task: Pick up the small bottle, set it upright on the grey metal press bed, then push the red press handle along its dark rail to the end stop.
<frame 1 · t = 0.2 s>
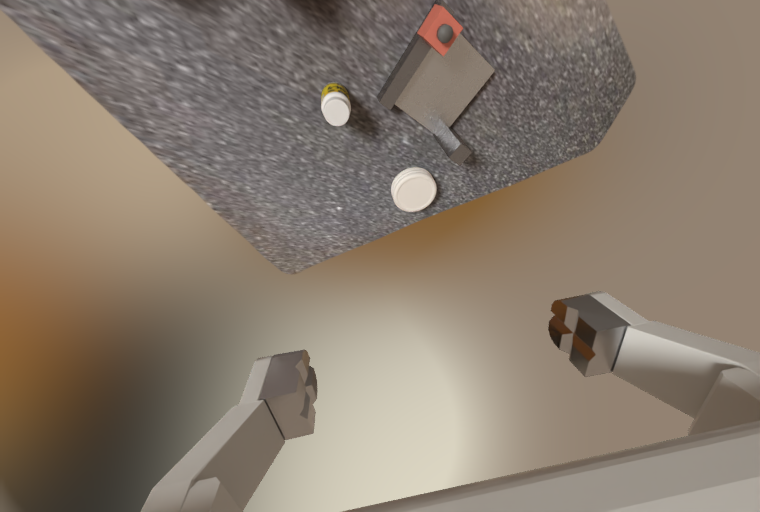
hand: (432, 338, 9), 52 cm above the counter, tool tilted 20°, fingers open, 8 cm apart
press handle: (440, 31, 41), point 6 cm above the counter, slide at 0.0 cm
supplement bottle: (334, 96, 51), on the counter
press bed: (441, 84, 52), on the counter
coaster: (411, 185, 66), on the counter
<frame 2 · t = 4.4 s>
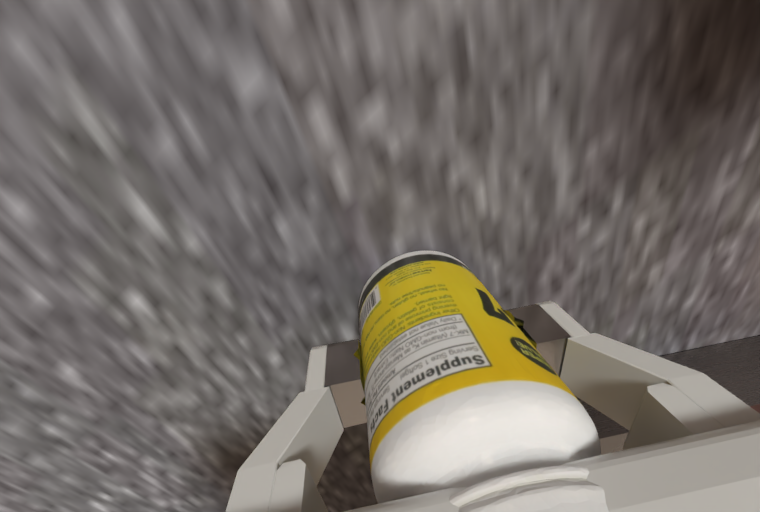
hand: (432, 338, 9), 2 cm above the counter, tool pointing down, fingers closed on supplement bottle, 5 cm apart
supplement bottle: (416, 298, 11), on the counter, touching gripper
press bed: (618, 453, 19), on the counter
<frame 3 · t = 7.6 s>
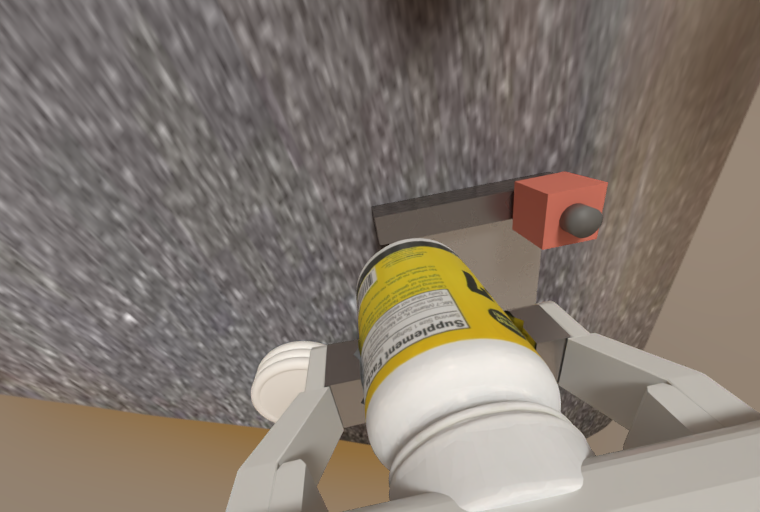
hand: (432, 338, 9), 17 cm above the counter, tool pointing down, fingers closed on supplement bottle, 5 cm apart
press handle: (559, 211, 21), point 6 cm above the counter, slide at 0.0 cm
supplement bottle: (410, 283, 12), point 14 cm above the counter, touching gripper
press bed: (463, 273, 29), on the counter
coaster: (304, 370, 33), on the counter
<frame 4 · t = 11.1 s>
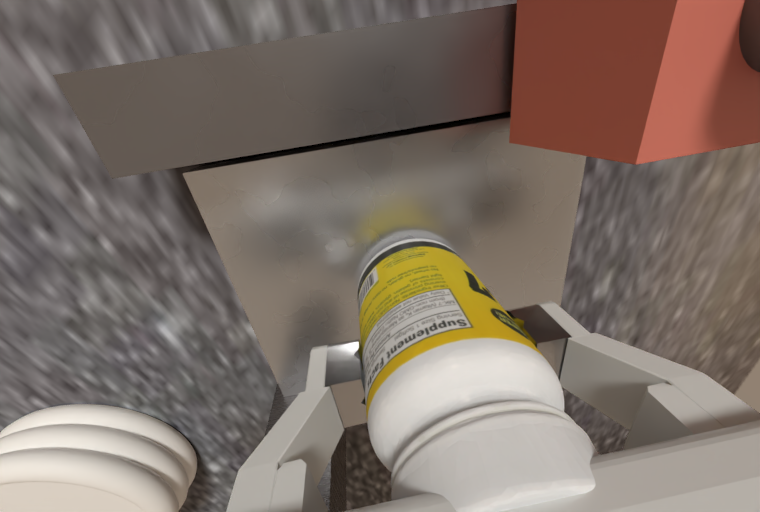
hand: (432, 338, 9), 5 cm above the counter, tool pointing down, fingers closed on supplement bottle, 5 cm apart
press handle: (699, 18, 5), point 6 cm above the counter, slide at 0.0 cm
supplement bottle: (411, 283, 12), point 1 cm above the counter, touching gripper, press bed
press bed: (405, 270, 14), on the counter
coaster: (112, 451, 17), on the counter
when the fingers open (5 cm above the counter, at t = 11.1 s): supplement bottle stays where it is, resting on press bed.
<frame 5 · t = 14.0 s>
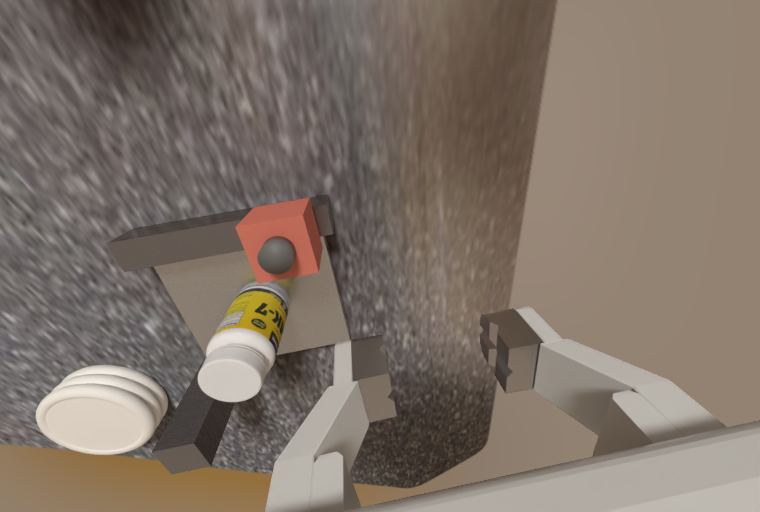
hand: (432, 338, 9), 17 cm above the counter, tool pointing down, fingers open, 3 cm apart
press handle: (283, 242, 19), point 6 cm above the counter, slide at 0.0 cm
supplement bottle: (262, 305, 26), point 1 cm above the counter, touching press bed
press bed: (266, 297, 28), on the counter
coaster: (120, 394, 31), on the counter
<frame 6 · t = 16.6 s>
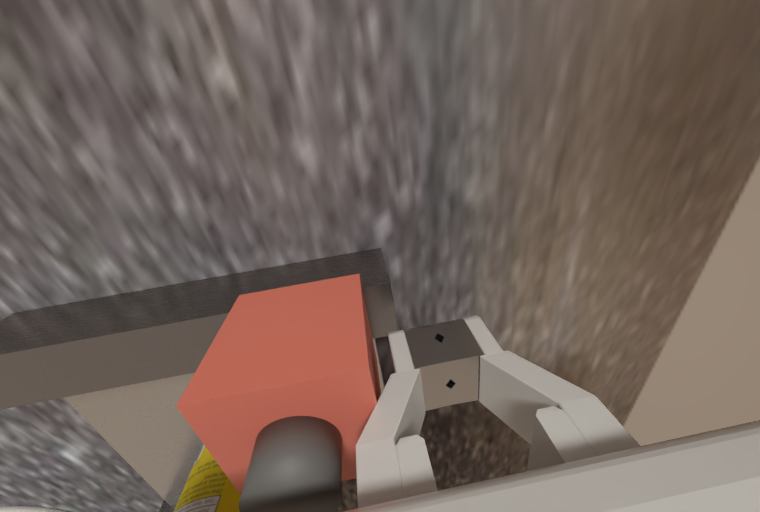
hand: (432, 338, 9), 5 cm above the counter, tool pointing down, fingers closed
press handle: (306, 392, 8), point 6 cm above the counter, slide at 0.0 cm, touching gripper
supplement bottle: (259, 428, 15), point 1 cm above the counter, touching press bed
press bed: (265, 406, 17), on the counter
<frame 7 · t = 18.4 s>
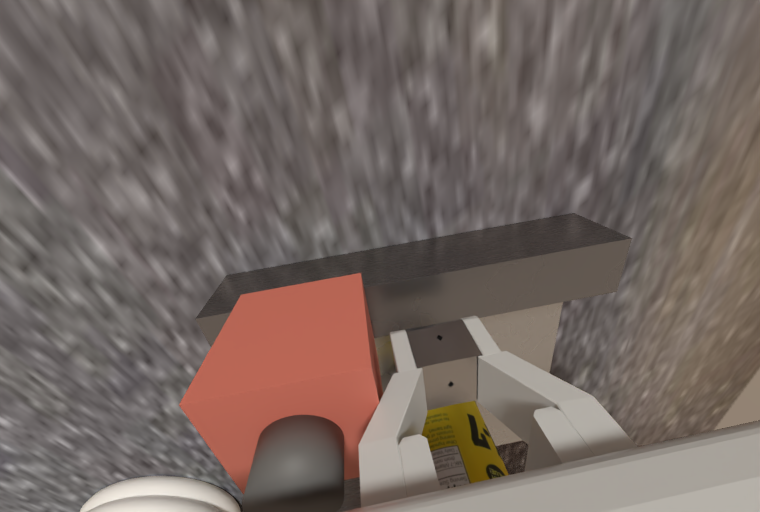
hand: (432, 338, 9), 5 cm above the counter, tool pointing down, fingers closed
press handle: (308, 391, 8), point 6 cm above the counter, slide at 9.0 cm, touching gripper
supplement bottle: (425, 394, 16), point 1 cm above the counter, touching press bed
press bed: (419, 375, 17), on the counter
coaster: (170, 506, 21), on the counter
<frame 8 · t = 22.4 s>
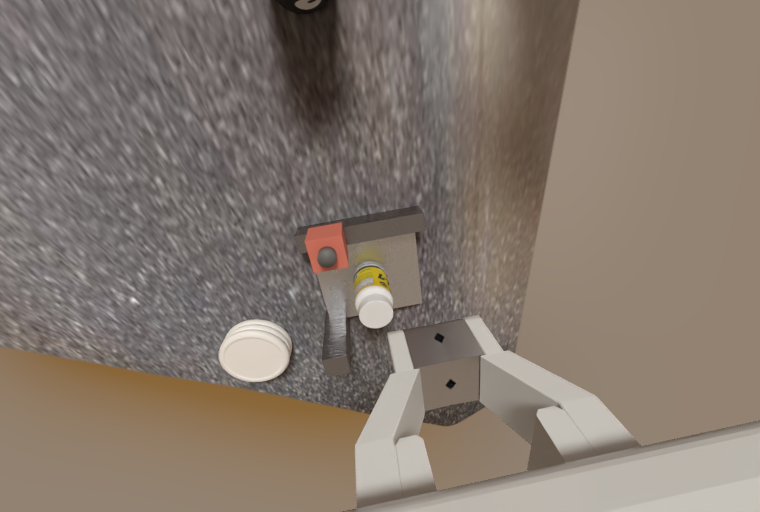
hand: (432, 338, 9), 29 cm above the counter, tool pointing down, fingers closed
press handle: (328, 249, 33), point 6 cm above the counter, slide at 9.0 cm
supplement bottle: (369, 277, 40), point 1 cm above the counter, touching press bed
press bed: (369, 272, 42), on the counter
coaster: (260, 342, 45), on the counter
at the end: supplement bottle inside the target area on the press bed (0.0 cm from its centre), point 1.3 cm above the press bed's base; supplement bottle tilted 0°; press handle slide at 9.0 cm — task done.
